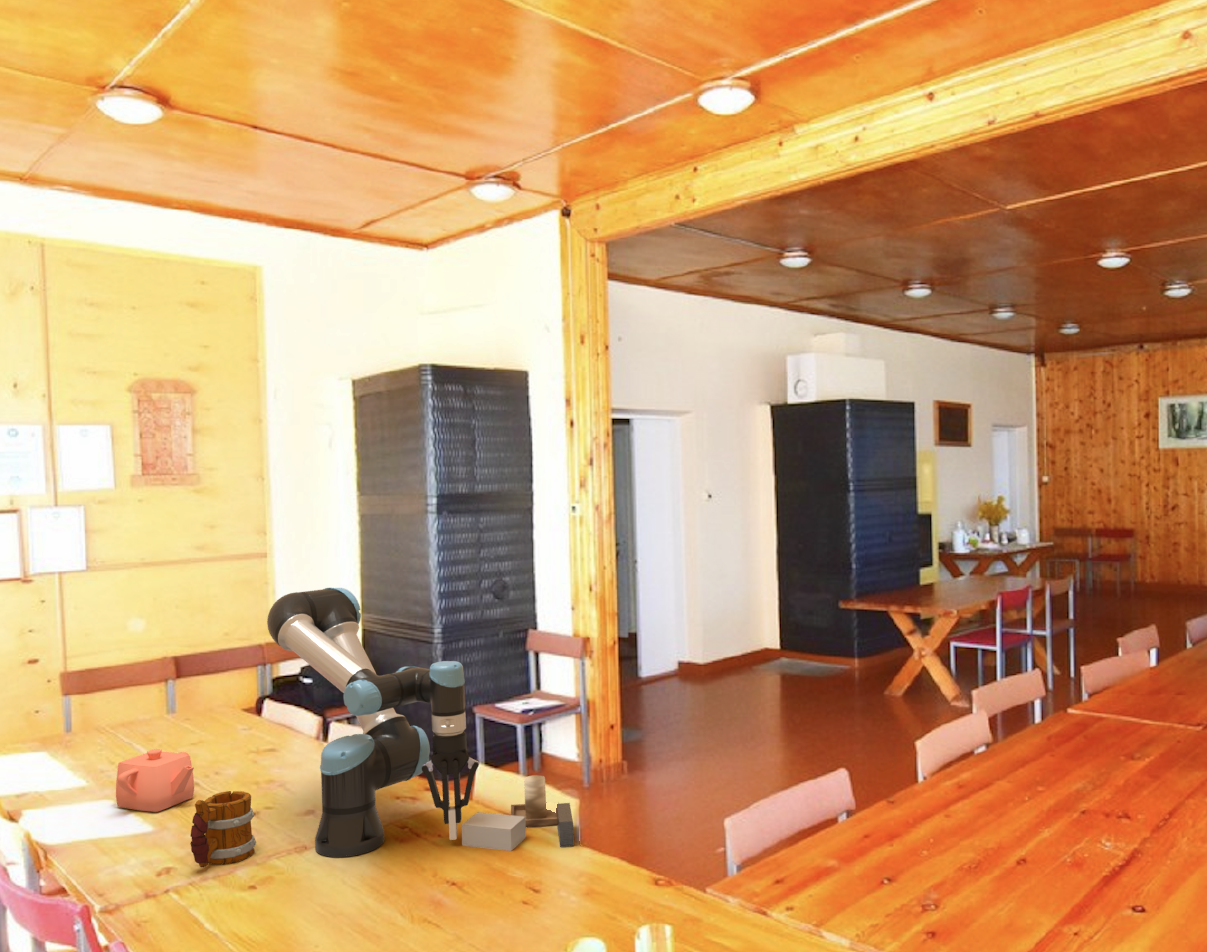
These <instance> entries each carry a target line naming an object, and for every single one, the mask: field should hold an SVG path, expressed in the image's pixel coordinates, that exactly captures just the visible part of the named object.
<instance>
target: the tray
mask: <svg viewBox="0 0 1207 952" xmlns="http://www.w3.org/2000/svg"><path fill="white" fill-rule="evenodd" d="M510 815H513V816H523V817H525V820H526V827H527V828H537V827H539V828H541V827H555V826H557V808H556V813H555V812H552V811H551V810H547V809H546V817H545V818H541V819H527V818H526V814H525V803H521V804H520V803H519V804H518V803H517V804H516V803H515V804H510Z"/></svg>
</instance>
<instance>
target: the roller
mask: <svg viewBox="0 0 1207 952" xmlns="http://www.w3.org/2000/svg"><path fill="white" fill-rule="evenodd" d="M523 783H524V787H523V788H524V804H525V814H526V818H527V819H541V818H545V817H546V803H547V798H546V797H547V795H546V793H547V791H546V777H545V776H544V775H539V774H538V775H537V774H536V775H529V776H526V777H524V779H523Z"/></svg>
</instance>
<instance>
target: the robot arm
mask: <svg viewBox="0 0 1207 952" xmlns="http://www.w3.org/2000/svg"><path fill="white" fill-rule="evenodd" d="M360 611H361V607H360V604H359V601H358V599H357V597H356V596H355V595H354V594H353V593H352V592H351V591H350V590H348V589H347V588H343V587H325V588H323V589H315V590H308V591H299V592H297V591H296V592H290V593H288V594H285V595H282V596H281V597H280V598H278V599H276V601H275V602H274V603H273V604H272V606H271V607H270V609H269V612H268V615H267V621H266V622H267V623H266V624H267V630H268V633H269V636H270V637H271V639H272V640H273V641H274V643H276V644H277V645H278V646H279V647H280V648H281V649H283V650H284V651H289V652H291V651H292V652H293V653H295V654H296V655H297V656H299V658H301V660H303V661H304V662H306V663H307V664H308V665H309V666H310V667H312V668H313V669H314V671H316V672H318V673H319V674H320V675H321V676H322V677H324V678H325V679H326V680H327V681H329V683H331V684H332V685H333V686H334V687H336V688H337V689H338V690H339V691H340V692H341V693H343V704H344V705H345V707H346V708H347V711H348V713H350V715H352V716H355V717H356V719H357V721H358V723H359V725H360V728H361V729H362V731H363V732H362V733H357V734H356V733H355V734H352V735H345V736H342V737H338V738H336V739H334V740H332V741H329V743H327V744H326V745H325V746H324V747H323V749H322V751H321V755H320V765H319V769H320V778H321V782H320V783H321V806H322V807H321V809H322V810H321V812H322V813H321V816H320V820H319V822H318V823H319V824H318V827H317V831H316V834H315V837H314V846H315V847H314V850H315V852H316V853H317V854H318V855H322V856H324V857H332V858H333V857H334V858H346V857H347V858H348V857H352V856H359V855H363V854H366V853H369V852H373V851H374V850H376V849H379V847H381V846H382V845H383V844H384V842H385V828H384V826H383V823H382V821H381V818H380V816H379V812H378V810H377V807H376V791H378V790H380V789H383V788H387V787H389V786H392V785H396V784H399V783H402V782H407V781H410V780H411V779H413V778H415V777H418V776H419V775H421V774H422V773H423V774H424V775H425V777H426V780H427V783H428V786H429V790H430V794H431V796H432V797H431V798H432V800H433V804H434V807H435V808H437V809H442V811H443V823H444V825H448V831H449V833H448V835H449V840H450V841H452V840H453V841H454V840H457V838H458V827H457V826H458V825H457V824H461V822H462V808H463V807H467V806H468V805H469V802H470V797H471V791H472V786H473V782H474V778H475V777H474V776H475V773H476V771H477V770H478V768H479V765H480V761H479V759H473V758H472V757H471V756H470V753H469V751H468V749H467V748H468V745H467V744H468V743H467V732H466V731H465V730H466V729H467V718H466V716H467V715H466V697H465V696H466V695H465V692H466V691H465V687H466V686H465V682H466V679H465V673H464V666H463V664H462V663H461V662H460V661H456V660H451V661H450V660H442V661H437V662H433V663H432V664H431V665H430V667H429V668H425V667H419V666H414V665H412V666H402V667H400V668H398V669H397V670H396V671H395V672H392V673H387V674H383V675H378V674H377V673H376V670H375V669H374V667H373V664H372V662H371V660H370V658H369V656H368V655H367V652H366V651H365V649H364V646H363V645H362V643H361V641H360V638H359V637H358V631H359V629H360V626H359V625H360V622H361V616H362V615H361V614H362V613H361V612H360ZM417 702H419V703H425V704H426V703H427V704H430V705H431V709H430V710H431V711H430V712H431V731H432V732H433V734H432V754H431V751H430V750H431V749H430V747H431V746H430V741H429V738H428V735H427V734H426V732H425V730H424V729H422V727H419V726H417V725H411V726H410V724H409V721H408V719H407V717H406V716H405V715H403V714H399V713H397V712H396V710H395V708H398V707H401V706H405V705H410V704H413V703H417ZM430 754H431V757H430ZM467 764H468V765H467ZM466 765H467V768H468V776H467V780H466V786H465V790H464V796H463V798H462V793H461V772H462V771H463V769H464V768H465V766H466ZM434 767H435V768H436V770H437V771H438V773H440V774H441V784H442V785H441V787H442V789H441V790H442V798H441V796H440V791H439V789H438V786H437V781H436V779H435V775H434V772H433V770H434ZM449 775H453V792H454V793H453V794H454V796H453V797H454V805H453V806H450V788H449V787H450V783H449V780H450V779H449Z"/></svg>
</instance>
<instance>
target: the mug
mask: <svg viewBox="0 0 1207 952" xmlns="http://www.w3.org/2000/svg"><path fill="white" fill-rule="evenodd" d="M251 804H252V795H251V794H250V793H249V792H246V791H241V790H238V791H237V790H235V791H234V790H233V791H230V790H226V791H222V792H217V793H215V794H213V795H212V796H209V797H208V798H206V799H205V800H202V799H199V800H196V802H195V803H194V807H195V813H194V815H193V816H192V821H191V823H192V824H193V825H192V826H191V830H190V837H191V841H190V851H191V853H192V855H193V857H194V858H193V859H194V862H196V863H197V864H198V865H199V868H206V867H208V866H209V864H210V865H221V864H222V865H225V864H226V865H228V864H229V863H230V864H232V863H237V862H240V861H243V860H246V859H247V858H250V857H251V856H252V855H254V853H255V847H256V845H257V841H256V839H255V836H254V834H253V833H252V832H253V831H252V823H251V822H252V819H253V818H254V817H255V813H254V812H253V808H252V807H251V806H252V805H251ZM249 856H250V857H249ZM230 864H229V865H230Z"/></svg>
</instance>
